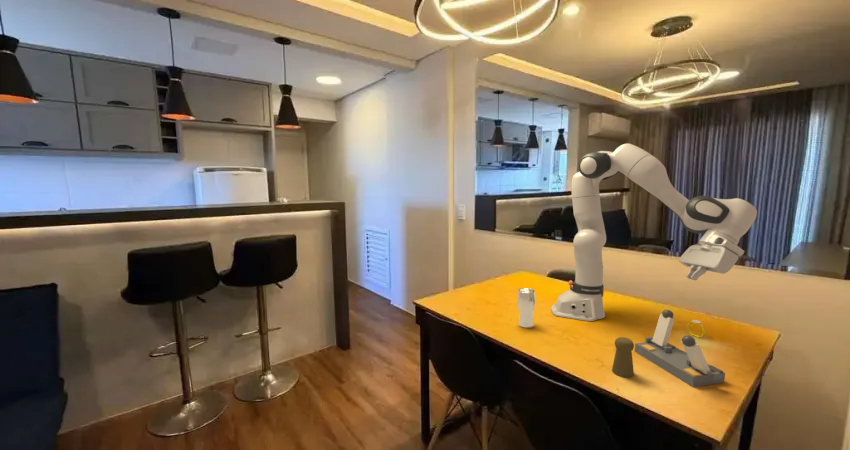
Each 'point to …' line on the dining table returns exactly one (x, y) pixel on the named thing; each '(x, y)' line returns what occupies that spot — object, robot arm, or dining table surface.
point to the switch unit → (678, 364)
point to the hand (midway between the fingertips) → (690, 278)
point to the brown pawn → (623, 358)
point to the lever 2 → (695, 354)
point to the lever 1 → (663, 329)
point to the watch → (698, 324)
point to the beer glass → (526, 307)
